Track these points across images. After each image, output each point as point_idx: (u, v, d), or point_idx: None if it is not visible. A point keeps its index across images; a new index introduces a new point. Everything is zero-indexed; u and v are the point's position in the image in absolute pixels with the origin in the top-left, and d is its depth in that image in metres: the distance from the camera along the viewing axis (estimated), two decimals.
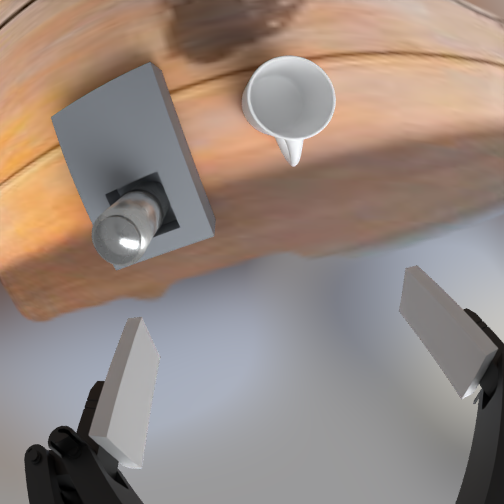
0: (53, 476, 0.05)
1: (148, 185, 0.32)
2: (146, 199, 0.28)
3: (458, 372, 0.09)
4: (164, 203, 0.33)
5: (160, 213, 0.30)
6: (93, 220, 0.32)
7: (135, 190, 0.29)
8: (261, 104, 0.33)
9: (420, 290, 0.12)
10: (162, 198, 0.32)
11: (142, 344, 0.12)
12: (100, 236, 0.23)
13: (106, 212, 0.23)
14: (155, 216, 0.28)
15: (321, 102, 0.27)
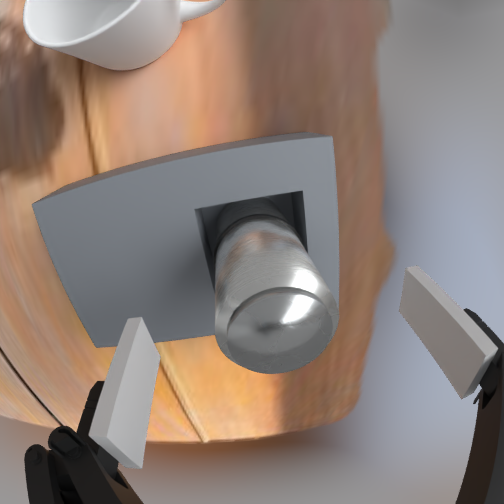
0: (53, 476, 0.05)
1: (219, 227, 0.21)
2: (230, 242, 0.16)
3: (458, 372, 0.09)
4: (254, 207, 0.19)
5: (265, 220, 0.17)
6: None
7: (214, 254, 0.18)
8: None
9: (420, 290, 0.12)
10: (245, 209, 0.19)
11: (142, 344, 0.12)
12: (262, 362, 0.12)
13: (218, 339, 0.12)
14: (265, 233, 0.15)
15: None
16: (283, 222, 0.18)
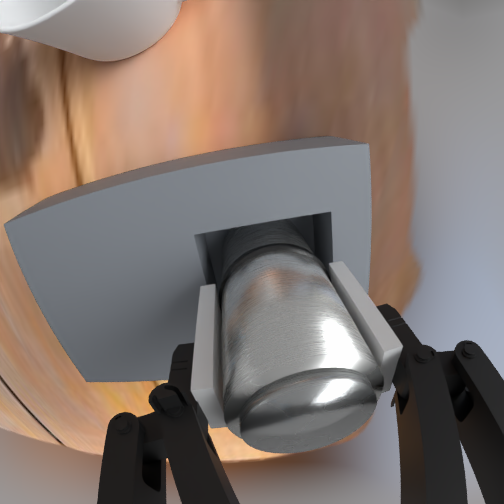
0: (140, 450, 0.07)
1: (225, 254, 0.17)
2: (241, 284, 0.12)
3: None
4: (270, 231, 0.16)
5: (286, 253, 0.13)
6: None
7: (220, 294, 0.14)
8: None
9: (338, 284, 0.13)
10: (258, 233, 0.16)
11: (218, 308, 0.14)
12: (283, 445, 0.09)
13: (228, 422, 0.08)
14: (289, 275, 0.11)
15: None
16: (308, 254, 0.14)
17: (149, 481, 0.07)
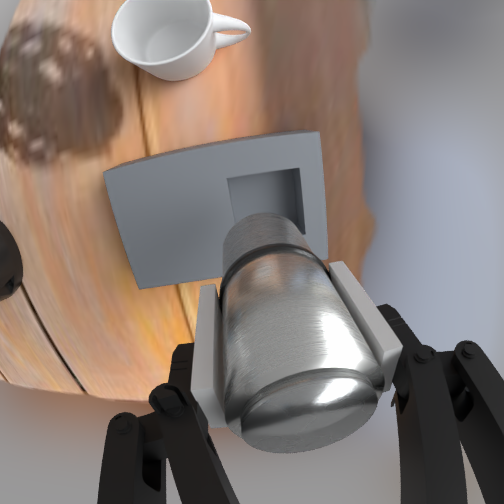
0: (140, 450, 0.07)
1: (226, 254, 0.17)
2: (241, 285, 0.12)
3: None
4: (270, 231, 0.16)
5: (287, 253, 0.13)
6: None
7: (221, 294, 0.14)
8: None
9: (338, 284, 0.13)
10: (259, 233, 0.16)
11: (218, 308, 0.14)
12: (284, 445, 0.09)
13: (229, 423, 0.08)
14: (289, 276, 0.11)
15: None
16: (309, 254, 0.14)
17: (149, 481, 0.07)
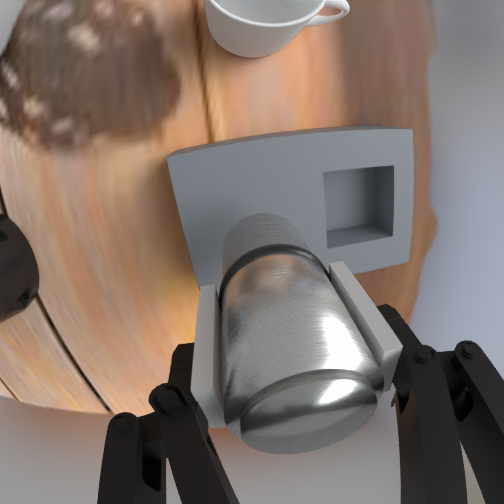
0: (140, 450, 0.07)
1: (225, 255, 0.17)
2: (241, 285, 0.12)
3: None
4: (270, 232, 0.16)
5: (287, 254, 0.13)
6: None
7: (220, 295, 0.14)
8: None
9: (338, 284, 0.13)
10: (259, 234, 0.15)
11: (218, 309, 0.14)
12: (284, 446, 0.09)
13: (228, 423, 0.08)
14: (289, 276, 0.11)
15: None
16: (308, 255, 0.14)
17: (149, 481, 0.07)
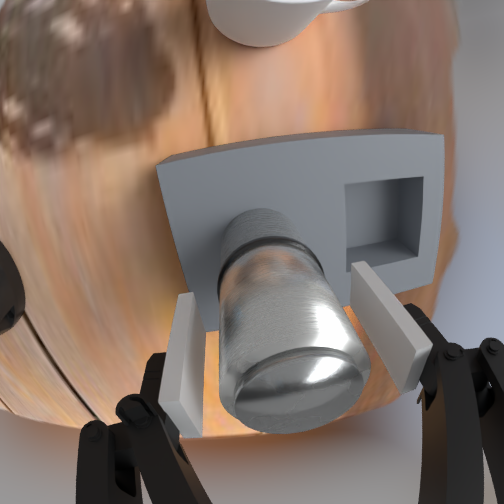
0: (111, 456, 0.06)
1: (224, 247, 0.18)
2: (237, 273, 0.13)
3: (396, 366, 0.10)
4: (266, 225, 0.16)
5: (280, 245, 0.14)
6: None
7: (218, 284, 0.15)
8: None
9: (362, 284, 0.13)
10: (255, 227, 0.16)
11: (195, 317, 0.13)
12: (276, 425, 0.09)
13: (223, 401, 0.09)
14: (281, 264, 0.12)
15: None
16: (301, 246, 0.15)
17: (125, 487, 0.07)
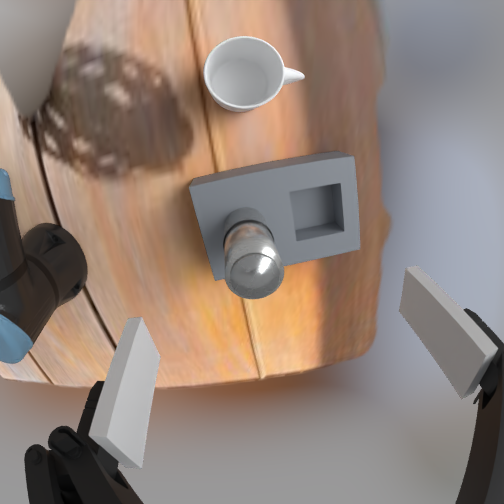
0: (53, 476, 0.05)
1: (226, 227, 0.35)
2: (231, 235, 0.31)
3: (458, 372, 0.09)
4: (245, 215, 0.34)
5: (250, 223, 0.32)
6: (314, 257, 0.41)
7: (223, 242, 0.33)
8: (239, 95, 0.36)
9: (420, 290, 0.12)
10: (240, 216, 0.34)
11: (142, 344, 0.12)
12: (247, 291, 0.27)
13: (226, 279, 0.27)
14: (249, 229, 0.30)
15: (246, 46, 0.27)
16: (260, 223, 0.32)
17: None
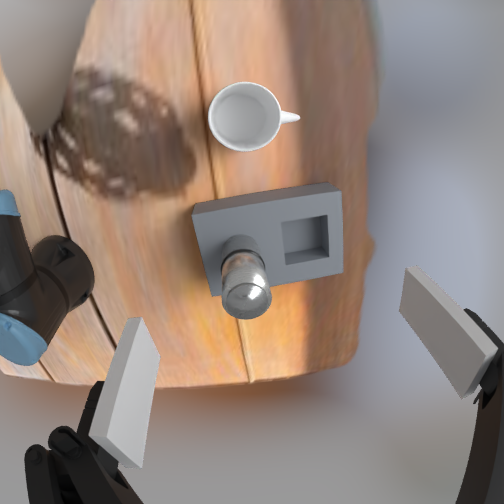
0: (53, 476, 0.05)
1: (223, 253, 0.40)
2: (228, 263, 0.36)
3: (458, 372, 0.09)
4: (241, 243, 0.39)
5: (245, 252, 0.37)
6: (301, 279, 0.47)
7: (221, 267, 0.38)
8: (240, 128, 0.41)
9: (420, 290, 0.12)
10: (236, 244, 0.39)
11: (142, 344, 0.12)
12: (240, 313, 0.32)
13: (223, 303, 0.32)
14: (243, 259, 0.35)
15: (248, 88, 0.32)
16: (253, 253, 0.37)
17: None
